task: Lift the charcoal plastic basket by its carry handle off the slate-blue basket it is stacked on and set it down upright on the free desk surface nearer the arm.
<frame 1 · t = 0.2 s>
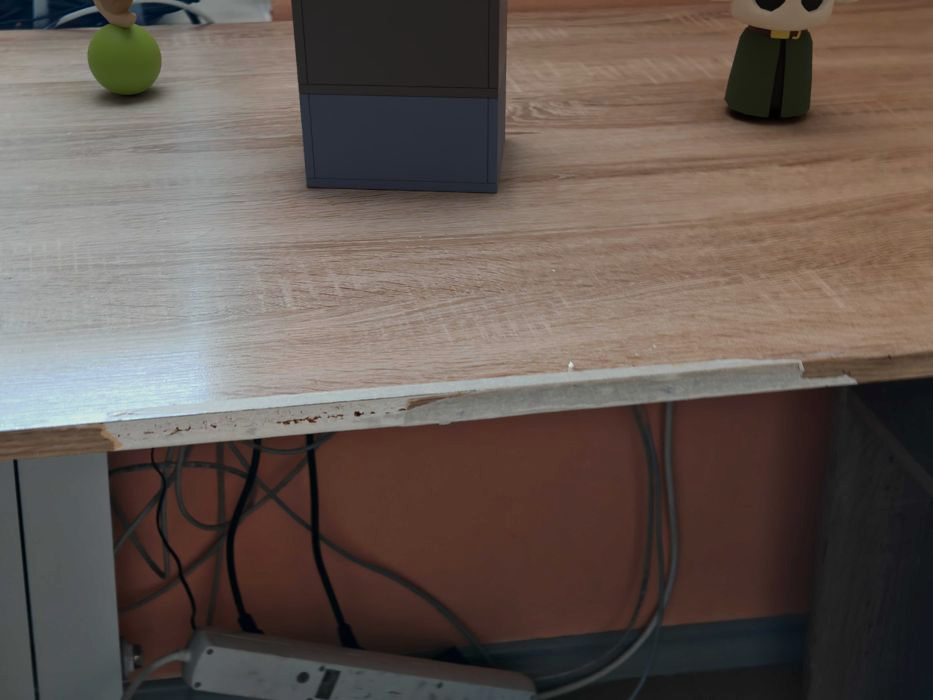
green robed panda doll: (765, 114, 80), on the table
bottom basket: (411, 161, 72), on the table, touching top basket
figurine on green ball: (127, 94, 85), on the table
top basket: (408, 71, 69), point 6 cm above the table, touching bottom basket
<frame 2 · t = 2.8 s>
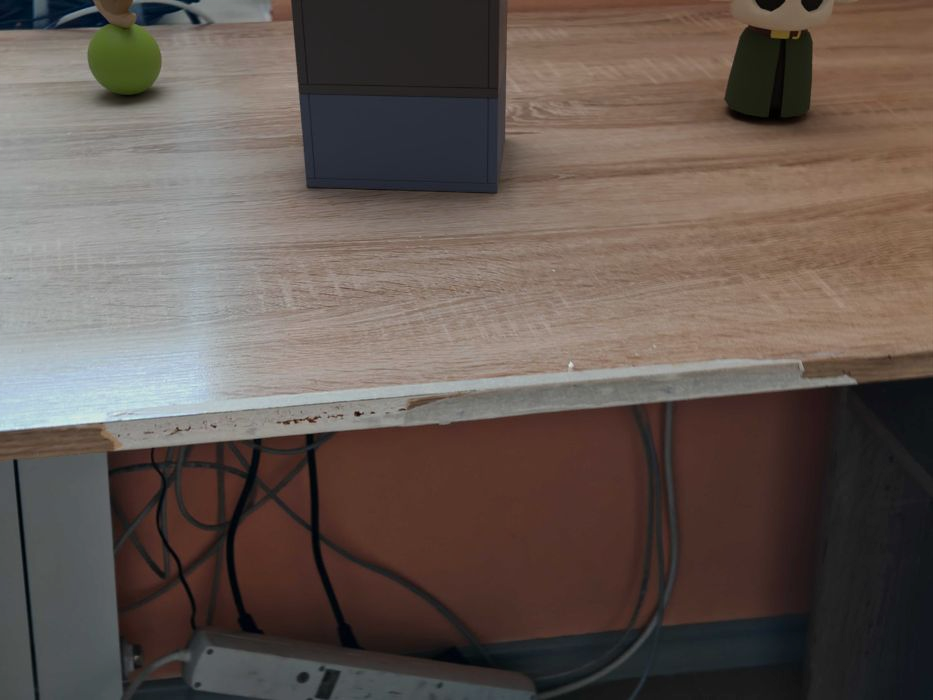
nothing on the table moved.
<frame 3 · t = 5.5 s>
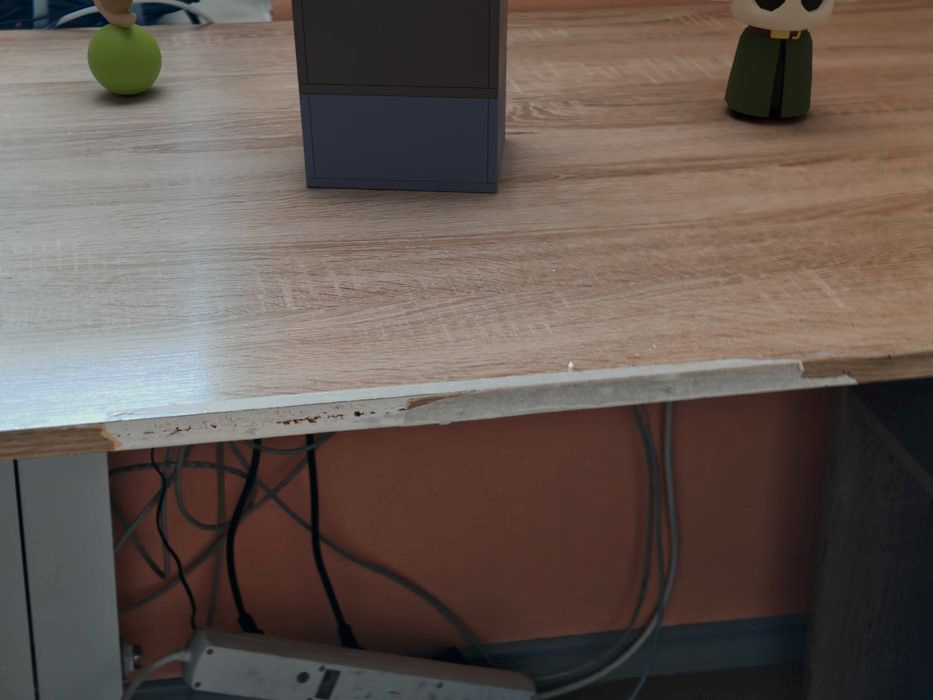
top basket: (408, 71, 69), point 6 cm above the table, touching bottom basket, gripper
everything else where it was.
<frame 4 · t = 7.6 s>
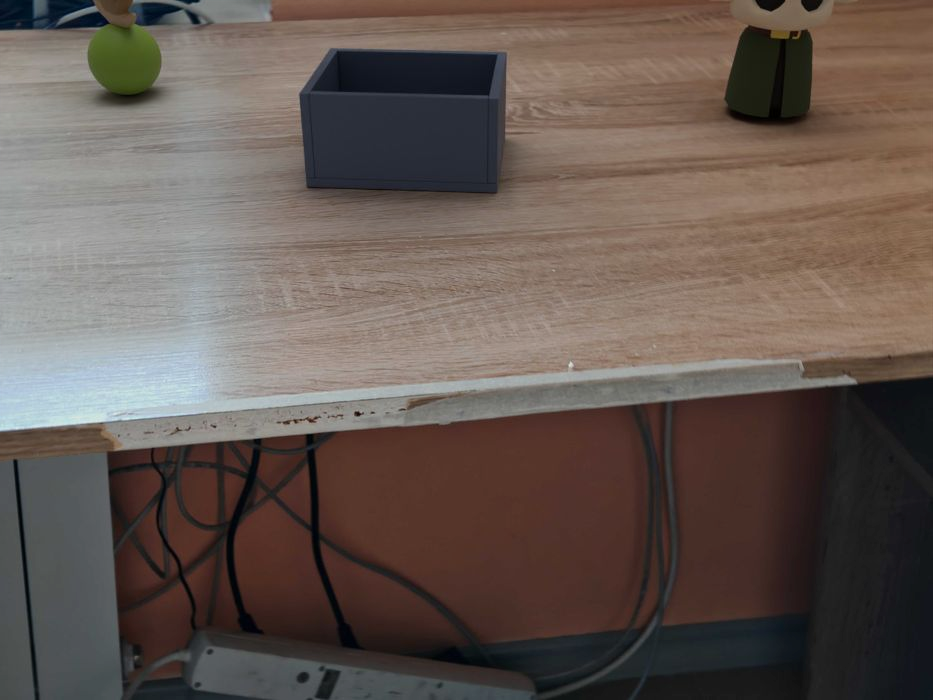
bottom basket: (411, 160, 72), on the table
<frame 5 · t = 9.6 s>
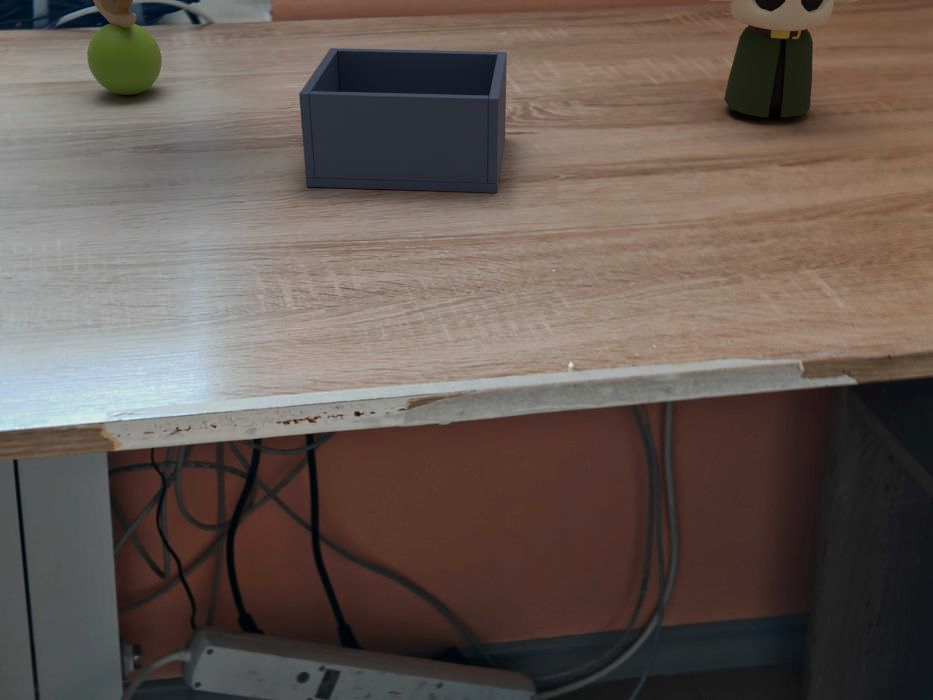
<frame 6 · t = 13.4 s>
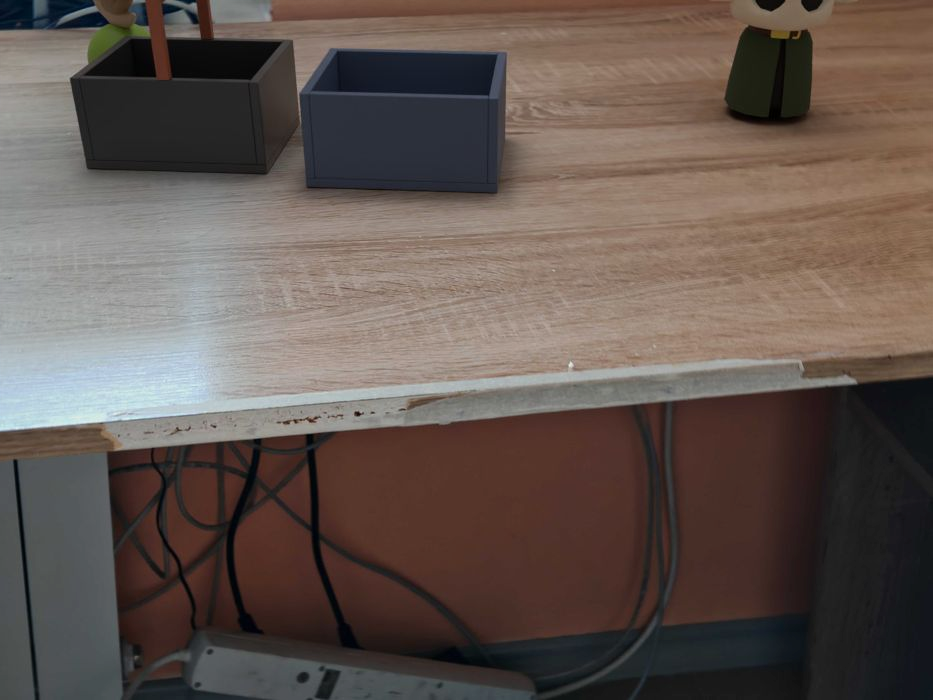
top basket: (198, 144, 75), on the table
everything else where it was.
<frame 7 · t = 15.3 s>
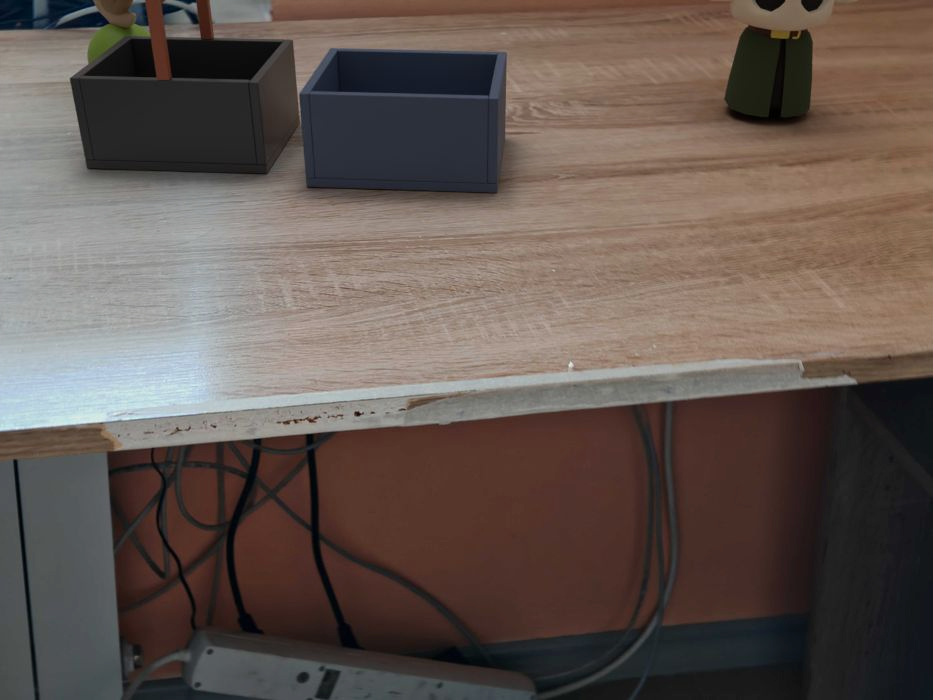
nothing on the table moved.
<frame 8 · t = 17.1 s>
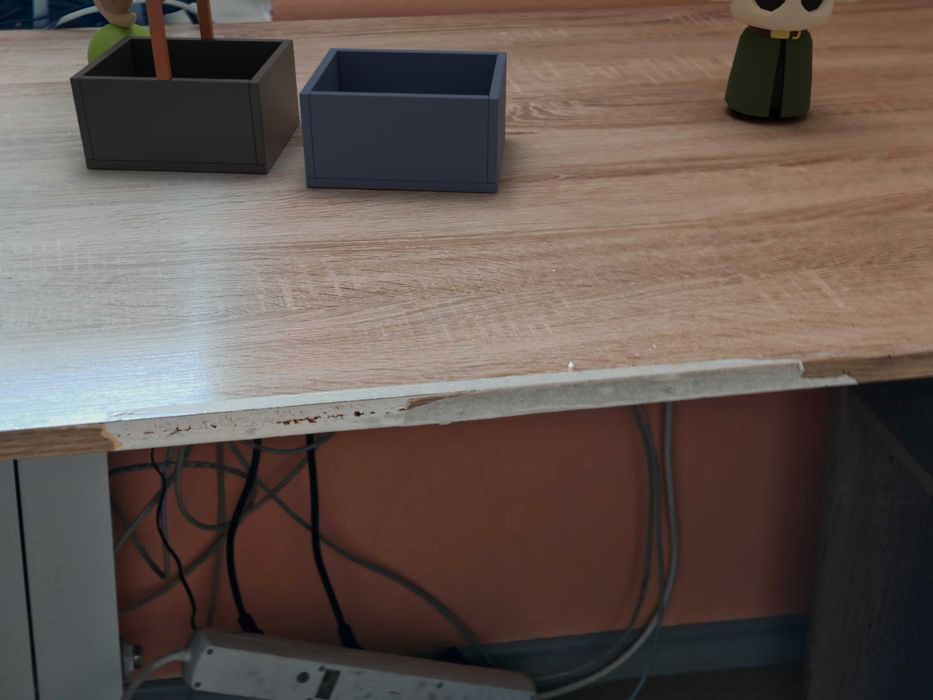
nothing on the table moved.
at the end: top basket inside the target area (0.0 cm from its centre), on the table; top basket tilted 0°; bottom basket moved 0.0 cm from its start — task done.
